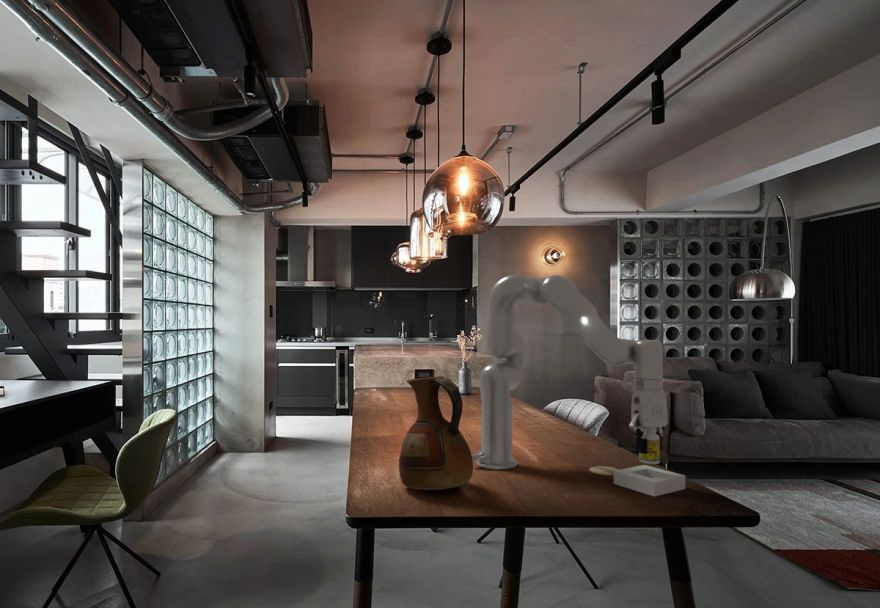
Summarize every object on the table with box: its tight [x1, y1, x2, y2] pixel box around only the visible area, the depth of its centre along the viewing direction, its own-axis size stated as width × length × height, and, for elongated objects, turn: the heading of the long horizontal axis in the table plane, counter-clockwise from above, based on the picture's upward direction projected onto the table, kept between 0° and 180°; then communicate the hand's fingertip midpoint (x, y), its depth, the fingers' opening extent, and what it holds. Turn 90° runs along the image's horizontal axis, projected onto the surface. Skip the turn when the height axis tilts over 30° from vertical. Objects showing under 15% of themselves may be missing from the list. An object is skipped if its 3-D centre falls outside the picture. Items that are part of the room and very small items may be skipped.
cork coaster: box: [589, 465, 620, 476], centre depth 162 cm, size 9×9×1 cm
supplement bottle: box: [638, 426, 661, 465], centre depth 147 cm, size 5×5×10 cm
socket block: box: [613, 464, 686, 497], centre depth 147 cm, size 13×13×4 cm
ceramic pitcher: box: [398, 375, 474, 491], centre depth 144 cm, size 20×20×30 cm
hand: (649, 450), depth 147 cm, fingers closed on supplement bottle, 5 cm apart
